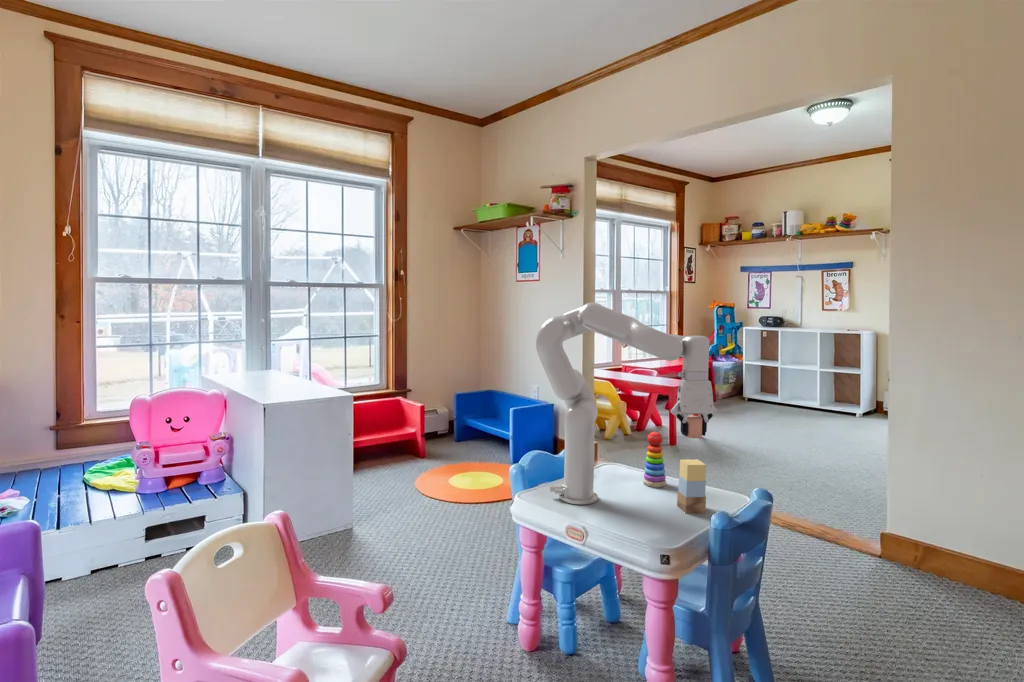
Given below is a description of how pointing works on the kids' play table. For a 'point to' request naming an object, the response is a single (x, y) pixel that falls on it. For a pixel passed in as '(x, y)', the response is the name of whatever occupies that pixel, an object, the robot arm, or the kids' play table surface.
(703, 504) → the tower base
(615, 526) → the kids' play table surface
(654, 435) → the stacking toy
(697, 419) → the cylinder
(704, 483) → the tower mid
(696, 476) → the tower top
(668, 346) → the robot arm
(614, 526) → the kids' play table surface
